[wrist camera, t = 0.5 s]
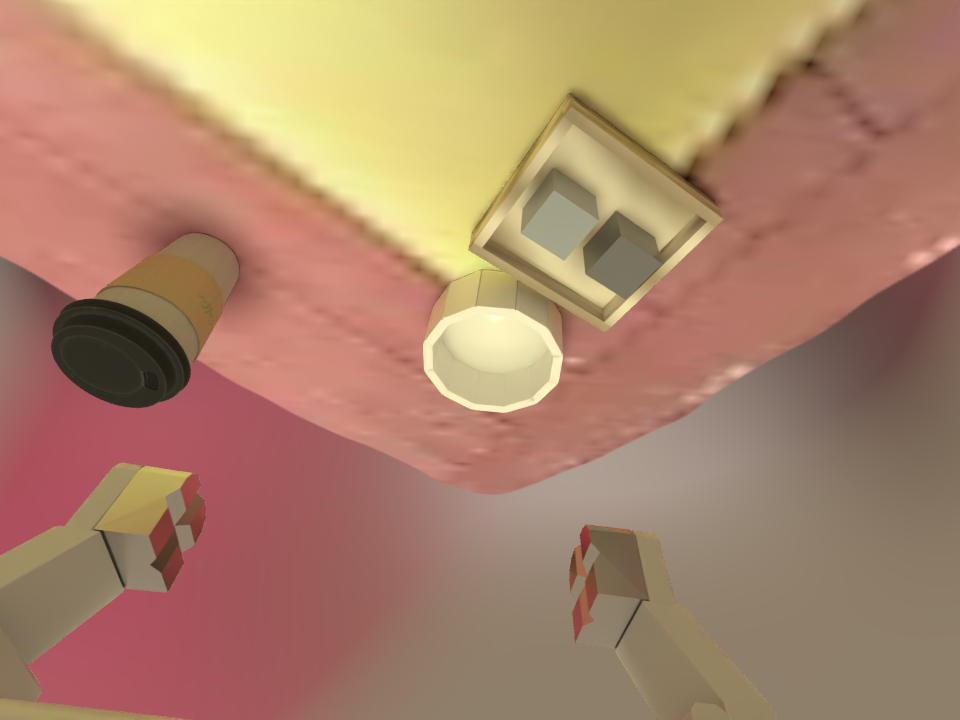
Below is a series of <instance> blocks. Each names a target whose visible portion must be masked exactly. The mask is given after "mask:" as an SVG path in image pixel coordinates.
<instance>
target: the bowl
mask: <svg viewBox="0 0 960 720" xmlns="http://www.w3.org/2000/svg"><path fill="white" fill-rule="evenodd" d="M423 352H424V370H425V373H426V374H427V375H428V377H429V378H430V379H431V381H432V382H433V383H434V385H435V386H436V387H437V388H438V390H439V391H440V392H441V394H443V395H444V396H446V397H448V398H450V399H452V400H454V401H456V402H458V403H460V404H462V405H464V406H466V407H468V408H470V409H472V410H482V411H493V412H503V413H505V412H510V411H513V410H516V409H520V408H523V407H527V406H530V405H533V404H536V403H538V402H539V401H540V400H541V399H542V398H543V397H544V396H545V395H546V394H547V393H548V392H549V391H551V390H552V389H553V388H554V387H555V386H556V385H557V384H558V381H559V376H560V370H561V365H562V359H563V338H562V316H561V314H560V313H559V311H558V309H557V307H556V305H555V303H554V301H552V300H550V299H549V298H547V297H545V296H544V295H542V294H540V293H539V292H537V291H535V290H534V289H532V288H530V287H529V286H527V285H525V284H524V283H522V282H521V281H519V280H517V279H516V278H514V277H512V276H511V275H509V274H507V273H506V272H504V271H493V270H480V271H477V272H475V273H472V274H470V275H467V276H465V277H462V278H460V279H458V280H455V281H453V282H451V283H450V284H449V285H448V286H447V288H446V289H445V291H444V292H443V293H442V295H441V296H440V297H439V299H438V300H437V302H436V303H435V304H434V306H433V309H432V313H431V317H430V320H429V324H428V328H427V331H426V335H425V339H424V343H423Z"/></svg>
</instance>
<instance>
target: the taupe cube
mask: <svg viewBox="0 0 960 720" xmlns="http://www.w3.org/2000/svg"><path fill="white" fill-rule="evenodd" d="M598 222H599V215H598V208H597V202H596V196H594V195H593V194H591V193H590V192H589V191H587V190H586V189H584V188H583V187H581V186H580V185H578V184H577V183H576V182H574V181H573V180H571V179H570V178H568V177H567V176H565V175H564V174H563V173H561V172H560V171H558V170H557V169H555V168H554V167H553V169H552V170H551V171H550V173H549V174H548V175H547V177H546V178H545V179H544V181H543V182H542V183H541V185H540V186H539V187H538V189H537V190H536V191H535V193H534V194H533V195H532V197H531V198H530V199H529V201H528V202H527V203H526V205H525V206H524V207H523V209H522V221H521V234H523V235H524V236H526V237H527V238H529V239H530V240H532V241H534V242H535V243H537V244H538V245H540V246H541V247H543V248H545V249H546V250H548V251H549V252H551V253H553V254H554V255H556V256H557V257H559V258H560V259H562V260H564V261H565V260H566V258H567V257H568V256H569V255H570V254H571V253H572V252H573V250H574V249H575V248H576V247H577V246H578V245H579V243H580V242H581V241H582V240H583V239H584V238H585V237H586V235H587V234H588V233H589V232H590V231H591V230H592V229H593V227H594V226H595V225H596V224H597V223H598Z"/></svg>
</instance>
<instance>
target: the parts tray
mask: <svg viewBox="0 0 960 720" xmlns="http://www.w3.org/2000/svg"><path fill="white" fill-rule="evenodd" d="M553 167H554V168H555V169H557V170H558V171H560V172H561V173H563V174H564V175H565V176H567V177H568V178H570V179H571V180H573V181H574V182H576V183H577V184H578V185H580V186H581V187H583V188H584V189H586V190H587V191H589V192H590V193H591V194H593V195H594V196H596V202H597V208H598V215H599V222H598V223H597V224H596V225H595V226H594V227H593V229H592V230H591V231H590V232H589V233H588V234H587V235H586V237H585V238H584V239H583V240H582V241H581V242H580V243H579V245H578V246H577V247H576V248H575V249H574V250H573V252H572V253H571V254H570V255H569V256H568V257H567V258H566V260H565V261H564V260H562V259H560V258H559V257H557V256H556V255H554V254H553V253H551V252H549V251H548V250H546V249H545V248H543V247H541V246H540V245H538V244H537V243H535V242H534V241H532V240H530V239H529V238H527V237H526V236H524V235H523V234H521V221H522V209H523V207H524V206H525V205H526V203H527V202H528V201H529V199H530V198H531V197H532V195H533V194H534V193H535V191H536V190H537V189H538V187H539V186H540V185H541V183H542V182H543V181H544V179H545V178H546V177H547V175H548V174H549V173H550V171H551V170H552V169H553ZM615 211H618V212H619V213H620V214H622V215H623V216H625V217H626V218H628V219H629V220H631V221H632V222H633V223H635V224H636V225H638V226H639V227H641V228H642V229H644V230H645V231H647V232H648V233H649V234H651V235H652V236H654V237H655V240H656V243H657V246H658V250H659V253H660V256H661V260H662V263H663V264H662V265H661V266H659V267H658V268H657V269H656V270H655V271H654V272H653V273H652V274H651V275H650V276H649V277H648V278H647V279H646V280H645V281H644V282H643V283H642V284H641V285H640V286H639V287H638V288H637V289H636V290H635V291H634V292H633V293H632V294H631V295H630V296H629V297H628V298H627V299H626V300H625V299H624V298H622V297H620V296H619V295H617V294H616V293H614V292H612V291H611V290H609V289H608V288H606V287H605V286H603V285H601V284H600V283H598V282H597V281H595V280H594V279H592V278H590V277H589V276H587V275H586V274H585V266H584V255H583V247H584V246H585V245H586V244H587V243H588V242H589V240H590V239H591V238H592V237H593V236H594V235H595V234H596V232H597V231H598V230H599V229H600V228H601V227H602V226H603V224H604V223H605V222H606V221H607V220H608V219H609V218H610V217H611V215H612V214H613V213H614V212H615ZM722 220H723V217H722V215H721V213H720V211H719V209H718V207H717V205H716V203H715V202H714V201H713V200H712V199H711V198H709V197H708V196H707V195H705V194H704V193H703V192H701V191H700V190H699V189H697V188H696V187H695V186H693V185H692V184H691V183H689V182H688V181H687V180H685V179H684V178H683V177H681V176H680V175H679V174H677V173H676V172H675V171H673V170H672V169H671V168H669V167H668V166H666V165H665V164H664V163H662V162H661V161H660V160H658V159H657V158H656V157H654V156H653V155H652V154H650V153H649V152H648V151H646V150H645V149H644V148H642V147H641V146H640V145H638V144H637V143H636V142H634V141H633V140H632V139H630V138H629V137H628V136H626V135H625V134H624V133H622V132H621V131H620V130H618V129H617V128H616V127H614V126H613V125H612V124H610V123H609V122H608V121H606V120H605V119H604V118H602V117H601V116H600V115H598V114H597V113H596V112H594V111H593V110H591V109H590V108H589V107H587V106H586V105H585V104H583V103H582V102H581V101H579V100H578V99H577V98H575V97H574V96H573V95H571V94H569V95H568V96H567V98H566V99H565V101H564V102H563V104H562V105H561V106H560V108H559V109H558V111H557V112H556V114H555V115H554V116H553V118H552V119H551V121H550V122H549V124H548V125H547V126H546V128H545V129H544V131H543V132H542V133H541V135H540V136H539V138H538V139H537V141H536V142H535V143H534V145H533V146H532V148H531V149H530V151H529V152H528V153H527V155H526V156H525V158H524V159H523V161H522V162H521V163H520V165H519V166H518V168H517V169H516V171H515V172H514V173H513V175H512V176H511V178H510V179H509V180H508V182H507V183H506V185H505V186H504V188H503V189H502V190H501V192H500V193H499V195H498V196H497V198H496V199H495V200H494V202H493V203H492V205H491V206H490V208H489V209H488V210H487V212H486V213H485V215H484V216H483V217H482V219H481V220H480V222H479V223H478V225H477V226H476V227H475V229H474V230H473V232H472V236H471V240H470V245H469V251H471V252H472V253H474V254H476V255H477V256H479V257H481V258H482V259H484V260H486V261H487V262H489V263H491V264H492V265H494V266H496V267H497V268H499V269H501V270H502V271H504V272H506V273H507V274H509V275H511V276H512V277H514V278H516V279H517V280H519V281H521V282H522V283H524V284H525V285H527V286H529V287H530V288H532V289H534V290H535V291H537V292H539V293H540V294H542V295H544V296H545V297H547V298H549V299H550V300H552V301H554V302H555V303H557V304H559V305H560V306H562V307H564V308H565V309H567V310H569V311H570V312H572V313H574V314H575V315H577V316H579V317H580V318H582V319H584V320H585V321H587V322H589V323H590V324H592V325H593V326H595V327H597V328H598V329H600V330H602V331H603V332H606V331H607V330H608V329H609V328H610V327H611V326H613V325H614V324H615V323H616V322H617V321H618V320H619V319H620V318H621V317H622V316H623V315H624V314H625V313H626V312H627V311H628V310H629V309H630V308H631V307H632V306H633V305H634V304H636V303H637V302H638V301H639V300H640V299H641V298H642V297H643V296H644V295H645V294H646V293H647V292H648V291H649V290H650V289H651V288H652V287H653V286H654V285H655V284H656V283H657V282H659V281H660V280H661V279H662V278H663V277H664V276H665V275H666V274H667V273H668V272H669V271H670V270H671V269H672V268H673V267H674V266H675V265H676V264H677V263H678V262H679V261H680V260H682V259H683V258H684V257H685V256H686V255H687V254H688V253H689V252H690V251H691V250H692V249H693V248H694V247H695V246H696V245H697V244H698V243H699V242H700V241H701V240H702V239H703V238H705V237H706V236H707V235H708V234H709V233H710V232H711V231H712V230H713V229H714V228H715V227H716V226H717V225H718V224H719V223H720V222H721V221H722Z"/></svg>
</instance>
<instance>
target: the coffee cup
mask: <svg viewBox="0 0 960 720" xmlns="http://www.w3.org/2000/svg"><path fill="white" fill-rule="evenodd" d="M238 277H239V264H238V260H237V258H236V256H235V254H234V253H233V251H232V250H231V249H230V248H229V247H228V246H227V245H226V244H224V243H223V242H221V241H220V240H218V239H216V238H214V237H212V236H209V235H206V234H201V233H188V234H185V235H183V236H181V237H180V238H178V239H177V240H175V241H174V242H172V243H171V244H170V245H168V246H167V247H165V248H164V249H162V250H161V251H159V252H158V253H157V254H155V255H152V256H150V257H147V258H146V259H144V260H143V261H142V262H140V263H139V264H137V265H136V266H134V267H133V268H131V269H130V270H129V271H127V272H126V273H124V274H123V275H121V276H120V277H119V278H117V279H116V280H114V281H113V282H111V283H110V284H108V285H107V286H106V287H104V288H103V289H102V290H101V291H99V292H98V293H97V295H96V296H95V297H94V298H93V299H83V300H78V301H75V302H73V303H71V304H69V305H67V306H66V307H65V308H64V309H63V310H62V311H61V313H60V315H59V316H58V317H57V319H56V321H55V323H54V326H53V339H52V343H51V350H52V354H53V357H54V359H55V361H56V363H57V365H58V366H59V368H60V369H61V370H62V372H63V373H64V374H65V375H66V376H67V377H68V378H69V379H70V380H71V381H72V382H73V383H75V384H76V385H77V386H79V387H80V388H81V389H83V390H84V391H86V392H88V393H89V394H91V395H93V396H95V397H97V398H99V399H101V400H104V401H106V402H109V403H112V404H115V405H119V406H124V407H132V408H142V407H148V406H151V405H154V404H156V403H158V402H161V401H165V400H168V399H170V398H172V397H174V396H175V395H176V394H177V393H178V392H180V391H181V390H182V389H183V388H184V387H185V386H186V385H187V383H188V381H189V379H190V372H191V369H190V365H191V364H192V363H193V362H194V361H195V360H196V358H197V357H198V355H199V353H200V352H201V350H202V348H203V346H204V344H205V343H206V341H207V339H208V337H209V335H210V333H211V332H212V330H213V328H214V326H215V324H216V323H217V321H218V319H219V317H220V315H221V313H222V310H223V306H224V304H225V302H226V300H227V299H228V297H229V295H230V293H231V291H232V289H233V288H234V286H235V284H236V282H237V280H238Z"/></svg>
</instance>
